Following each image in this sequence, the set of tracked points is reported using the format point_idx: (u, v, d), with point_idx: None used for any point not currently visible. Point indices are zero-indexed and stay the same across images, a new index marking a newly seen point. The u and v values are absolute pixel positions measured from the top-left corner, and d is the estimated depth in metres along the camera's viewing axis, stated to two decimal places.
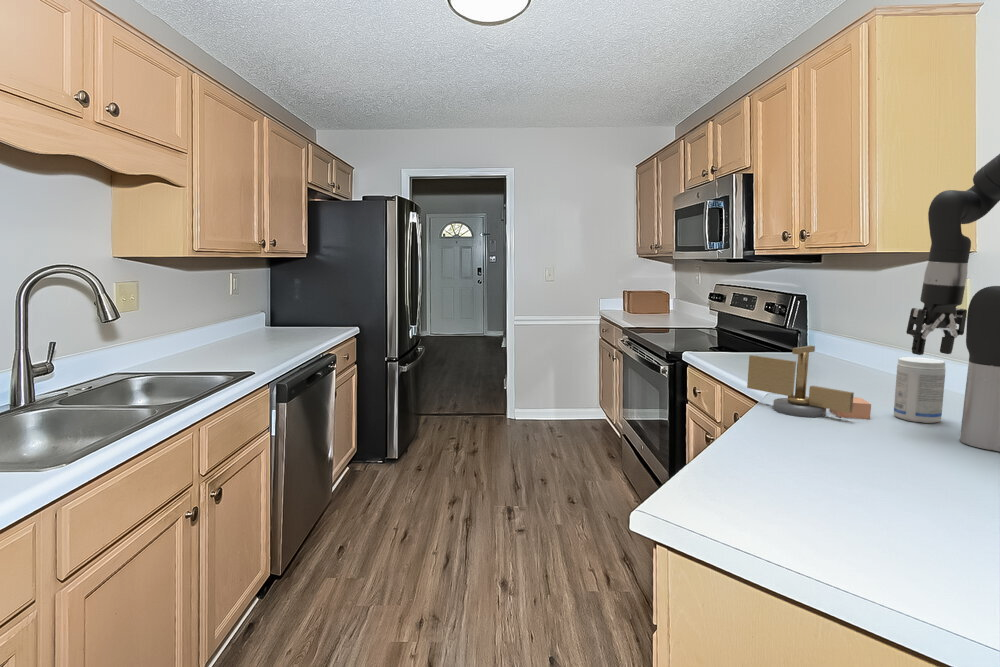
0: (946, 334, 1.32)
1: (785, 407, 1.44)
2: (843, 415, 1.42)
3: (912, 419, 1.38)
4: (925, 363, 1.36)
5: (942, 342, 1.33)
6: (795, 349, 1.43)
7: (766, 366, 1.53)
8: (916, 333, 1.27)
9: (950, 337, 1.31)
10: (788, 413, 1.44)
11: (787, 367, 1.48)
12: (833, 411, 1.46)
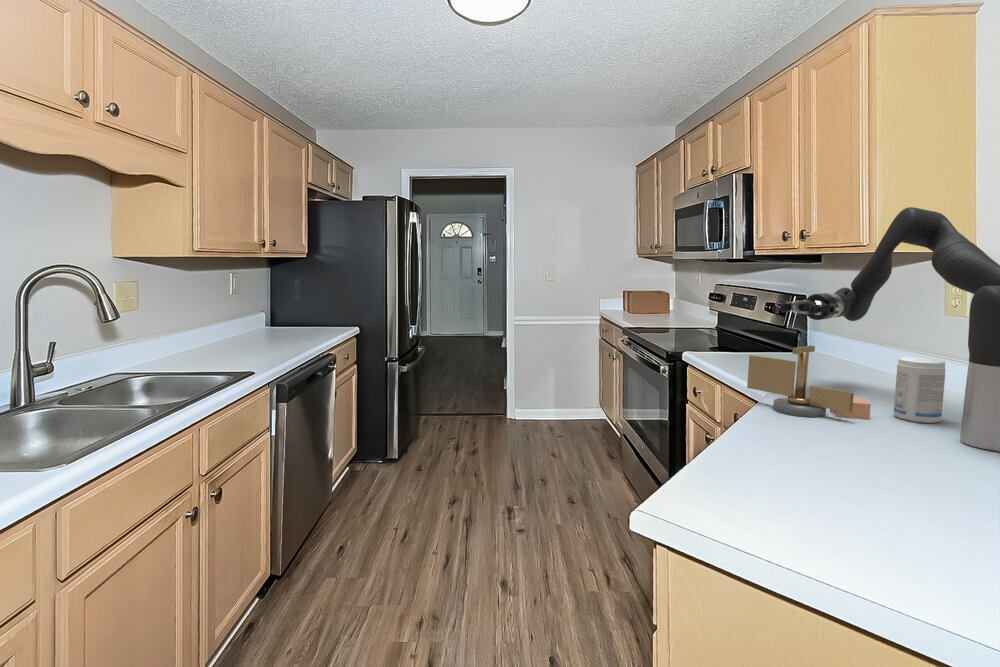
0: None
1: (785, 407, 1.44)
2: (842, 415, 1.42)
3: (912, 419, 1.38)
4: (925, 363, 1.36)
5: None
6: (795, 349, 1.43)
7: (766, 366, 1.53)
8: None
9: None
10: (788, 413, 1.44)
11: (787, 367, 1.48)
12: (833, 411, 1.46)
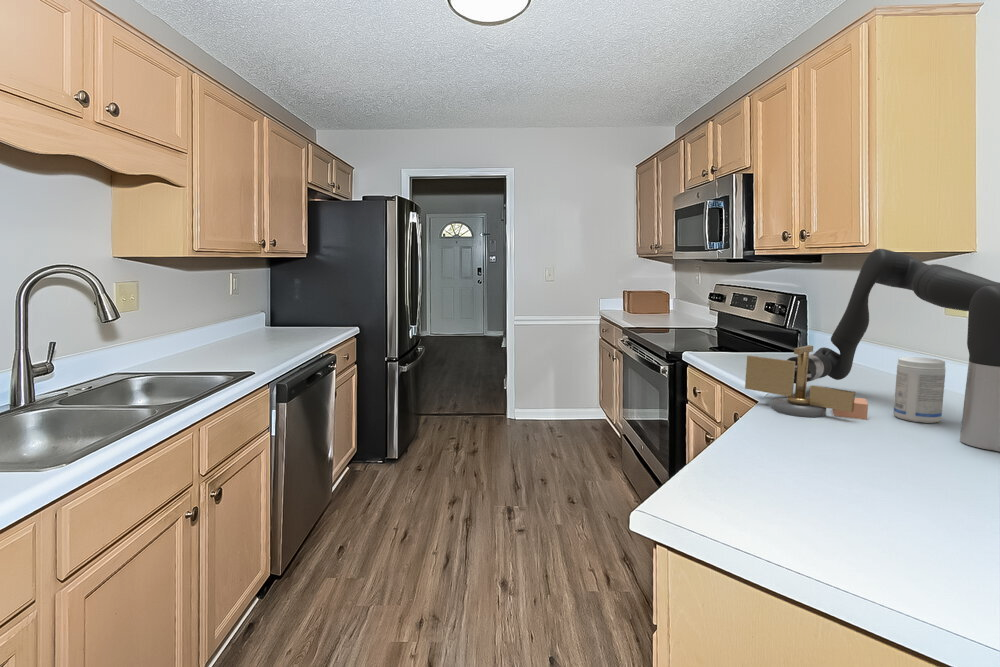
0: None
1: (785, 407, 1.44)
2: (839, 414, 1.43)
3: (912, 419, 1.38)
4: (925, 363, 1.36)
5: None
6: (797, 349, 1.42)
7: (765, 366, 1.52)
8: None
9: None
10: (788, 413, 1.44)
11: (787, 367, 1.48)
12: None
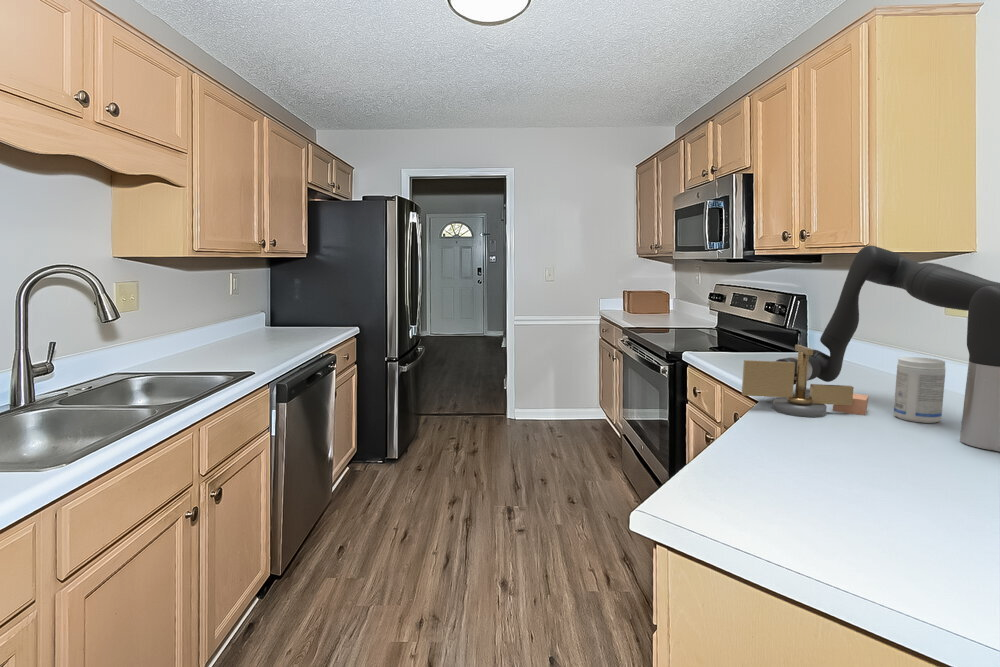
0: None
1: (785, 407, 1.44)
2: (838, 409, 1.48)
3: (912, 419, 1.38)
4: (925, 363, 1.36)
5: None
6: (811, 350, 1.41)
7: (765, 370, 1.47)
8: None
9: None
10: (788, 413, 1.44)
11: (788, 369, 1.46)
12: None
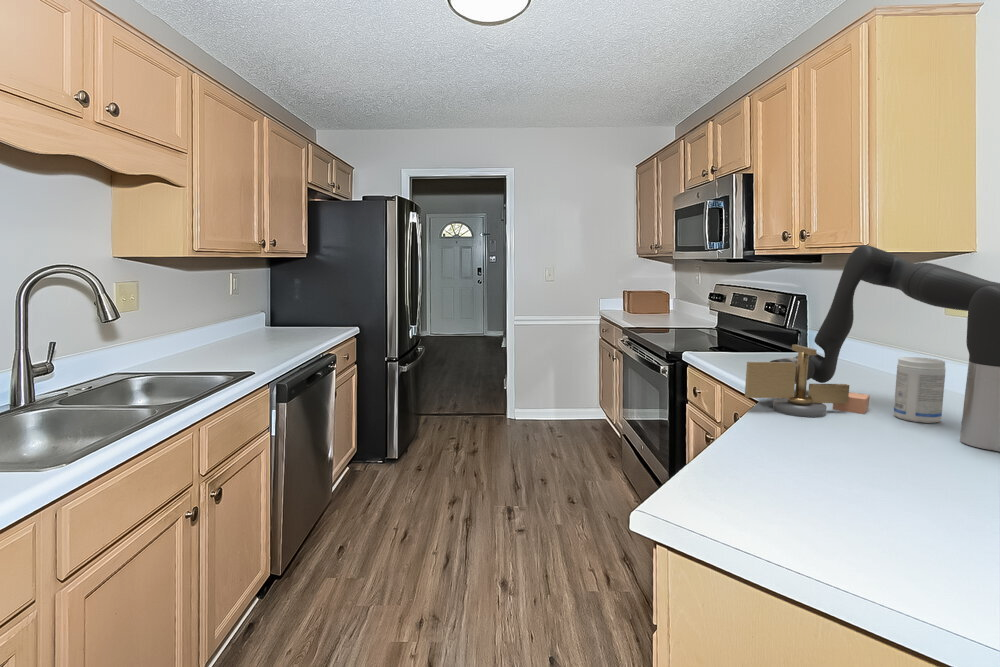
0: None
1: (785, 407, 1.44)
2: (837, 408, 1.49)
3: (912, 419, 1.38)
4: (925, 363, 1.36)
5: None
6: (814, 350, 1.41)
7: (768, 371, 1.45)
8: None
9: None
10: (788, 413, 1.44)
11: (790, 369, 1.45)
12: None
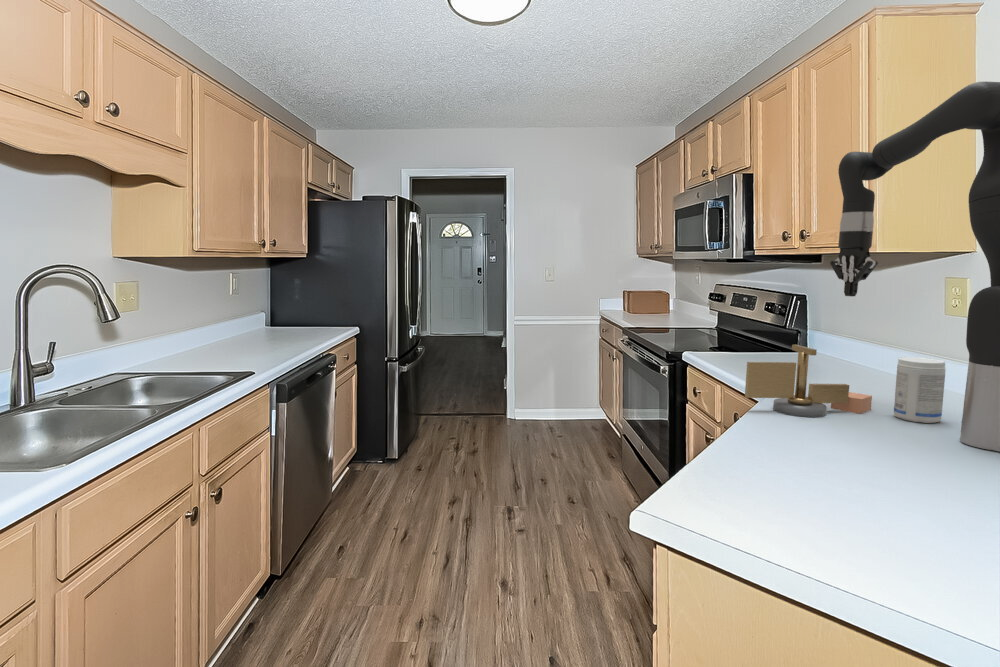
0: None
1: (785, 407, 1.44)
2: (835, 407, 1.50)
3: (912, 419, 1.38)
4: (925, 363, 1.36)
5: None
6: (814, 350, 1.41)
7: (768, 371, 1.45)
8: None
9: None
10: (788, 413, 1.44)
11: (790, 369, 1.45)
12: None
